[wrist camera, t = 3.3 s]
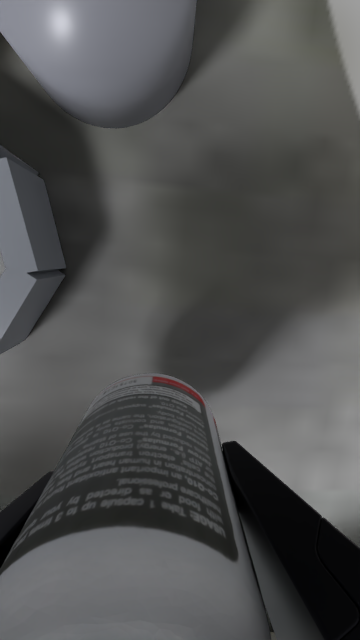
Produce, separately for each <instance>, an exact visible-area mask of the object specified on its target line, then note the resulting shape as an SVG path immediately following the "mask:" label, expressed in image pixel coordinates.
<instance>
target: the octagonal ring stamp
mask: <svg viewBox="0 0 360 640" xmlns="http://www.w3.org/2000/svg"><path fill="white" fill-rule="evenodd" d="M38 174H39V172H37V171H36V170H35V169H33V168H32V167H31V166H29V165H28V164H26V163H25V162H24V161H22V160H21V159H19V158H18V157H17V156H15V155H14V154H12V153H11V152H10V151H8V150H7V149H5V148H4V147H3V146H1V145H0V251H1V255H2V258H3V261H4V265H5V268H6V269H5V270H4V272H3V274H2V275H1V277H0V354H1V353H3V352H5V351H7V350H8V349H10V348H12V347H14V346H16V345H17V344H19V343H20V342H22V341H24V340H25V339H26V338H27V336H28V335H29V333H30V331H31V330H32V328H33V327H34V325H35V323H36V322H37V320H38V318H39V317H40V315H41V314H42V312H43V310H44V309H45V307H46V306H47V304H48V302H49V301H50V299H51V298H52V296H53V294H54V293H55V291H56V290H57V288H58V286H59V285H60V283H61V282H62V280H63V278H64V277H65V275H64V274H63V273H61V272H60V271H58V269H64V268H66V265H65V261H64V257H63V253H62V249H61V245H60V241H59V237H58V233H57V229H56V225H55V221H54V217H53V214H52V210H51V206H50V202H49V198H48V194H47V190H46V186H45V182H44V180H43V179H42V178H40V177H38V176H37V175H38Z"/></svg>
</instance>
